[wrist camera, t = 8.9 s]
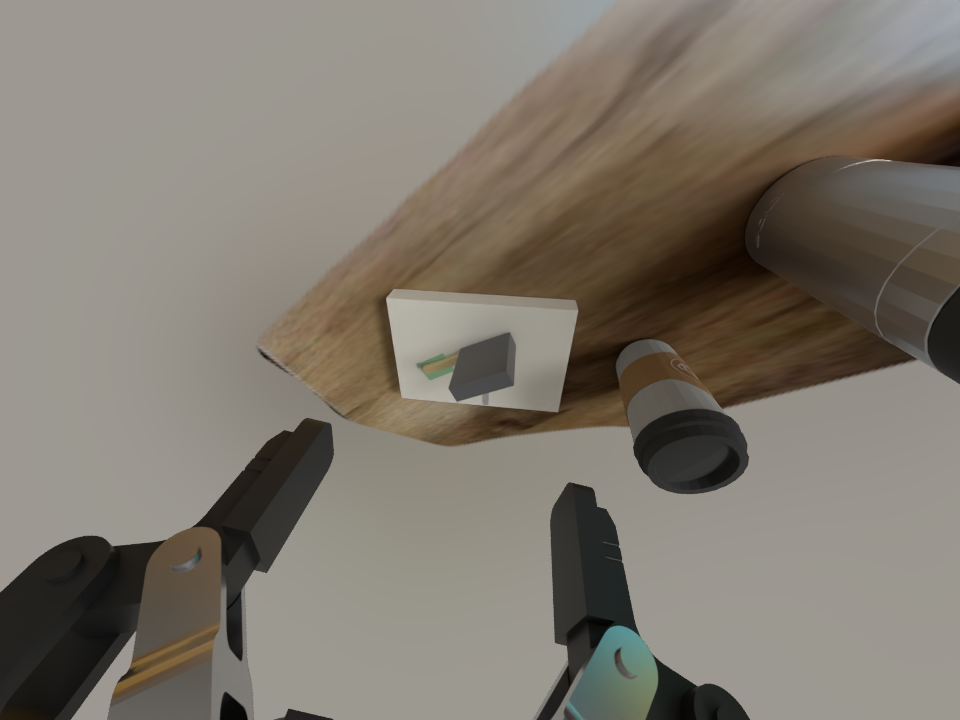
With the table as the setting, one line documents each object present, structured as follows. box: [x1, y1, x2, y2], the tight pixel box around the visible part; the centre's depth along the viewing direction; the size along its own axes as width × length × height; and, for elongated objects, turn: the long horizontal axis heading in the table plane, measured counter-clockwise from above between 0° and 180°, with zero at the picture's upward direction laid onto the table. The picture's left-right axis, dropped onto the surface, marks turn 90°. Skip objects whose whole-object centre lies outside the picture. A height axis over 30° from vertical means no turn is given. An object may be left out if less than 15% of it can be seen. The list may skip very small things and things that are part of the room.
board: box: [386, 289, 578, 412], centre depth 40 cm, size 20×14×3 cm
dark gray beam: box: [423, 332, 516, 402], centre depth 35 cm, size 2×11×7 cm, turn 115°
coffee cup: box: [616, 339, 749, 494], centre depth 33 cm, size 8×8×15 cm
